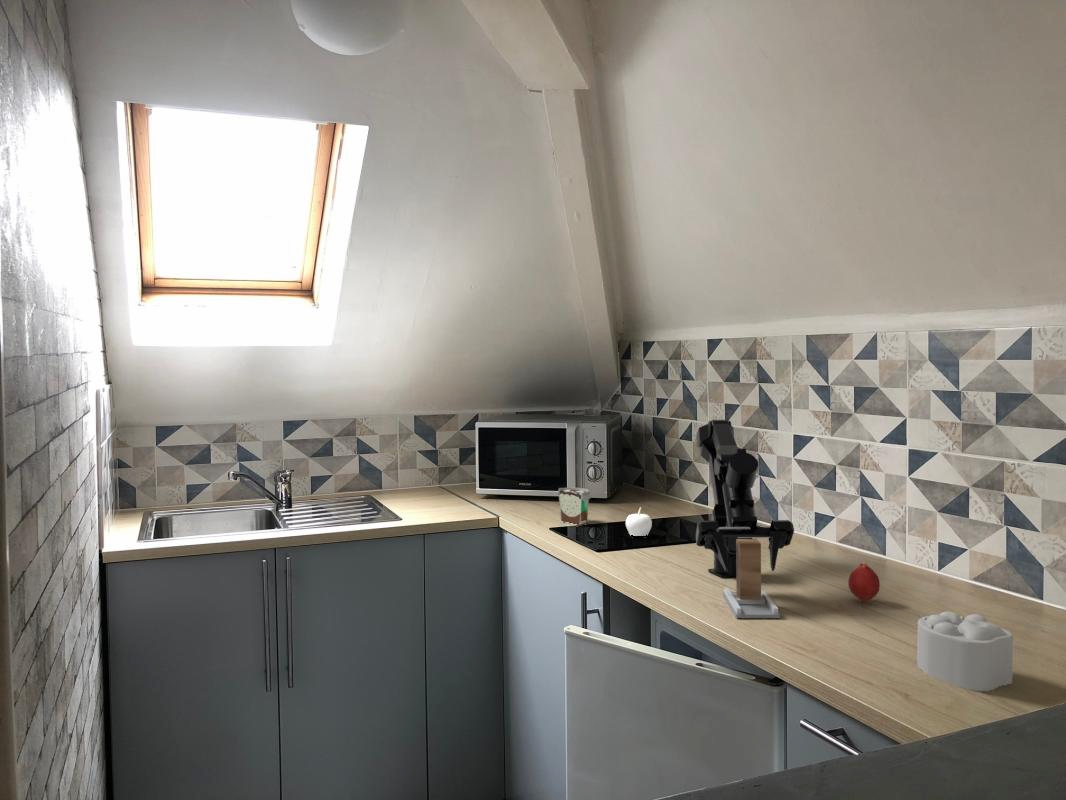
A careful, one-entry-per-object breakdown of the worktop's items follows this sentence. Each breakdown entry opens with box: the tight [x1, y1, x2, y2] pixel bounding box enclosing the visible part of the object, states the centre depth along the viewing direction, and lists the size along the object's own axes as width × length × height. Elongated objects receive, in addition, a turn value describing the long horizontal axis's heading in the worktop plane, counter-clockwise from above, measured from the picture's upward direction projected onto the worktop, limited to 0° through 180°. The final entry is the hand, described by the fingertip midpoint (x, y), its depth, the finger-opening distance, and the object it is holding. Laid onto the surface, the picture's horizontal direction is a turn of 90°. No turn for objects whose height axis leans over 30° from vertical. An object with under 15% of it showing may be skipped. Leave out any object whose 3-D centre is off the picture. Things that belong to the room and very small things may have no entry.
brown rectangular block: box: [732, 538, 765, 604], centre depth 167 cm, size 5×5×12 cm
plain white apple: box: [625, 507, 653, 536], centre depth 231 cm, size 7×7×8 cm
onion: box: [847, 561, 881, 603], centre depth 168 cm, size 6×6×8 cm
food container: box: [557, 487, 592, 525], centre depth 251 cm, size 12×6×10 cm, turn 34°
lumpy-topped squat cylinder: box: [916, 611, 1014, 692], centre depth 130 cm, size 10×13×9 cm
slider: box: [722, 587, 781, 619], centre depth 166 cm, size 15×8×2 cm, turn 177°
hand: (750, 570), depth 165 cm, fingers open, 9 cm apart
